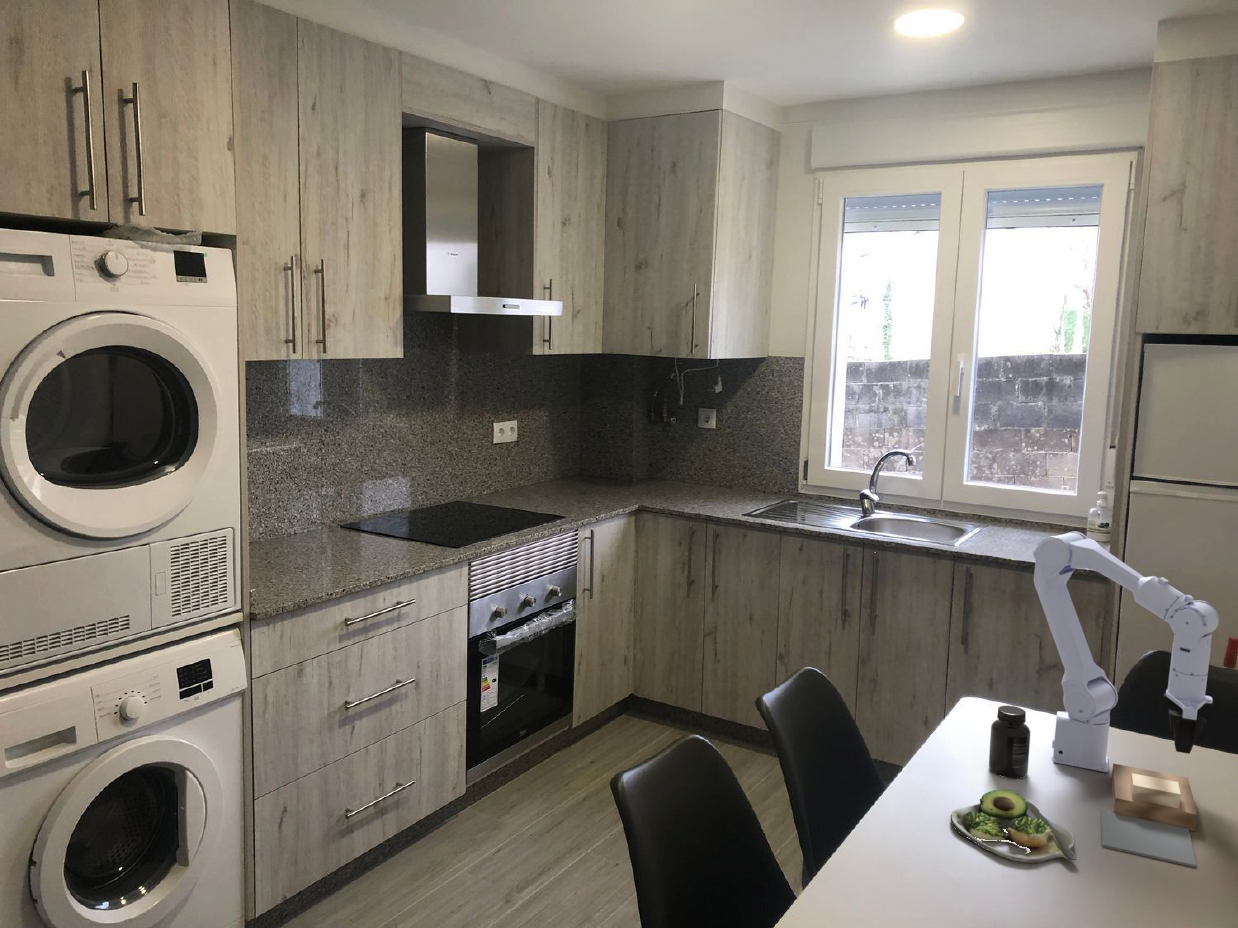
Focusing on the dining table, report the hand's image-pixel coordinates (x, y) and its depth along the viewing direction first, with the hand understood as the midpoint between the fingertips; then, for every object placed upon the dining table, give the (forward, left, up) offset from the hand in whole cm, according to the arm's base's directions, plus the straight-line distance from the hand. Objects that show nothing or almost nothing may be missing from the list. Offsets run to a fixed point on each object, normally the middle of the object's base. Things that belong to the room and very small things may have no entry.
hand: (1180, 743), depth 170 cm
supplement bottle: (-28, -5, -10) cm, 30 cm away
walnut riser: (-4, -6, -10) cm, 12 cm away
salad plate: (-26, -29, -10) cm, 40 cm away
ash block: (-4, -10, -7) cm, 13 cm away
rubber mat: (-6, -20, -10) cm, 23 cm away
